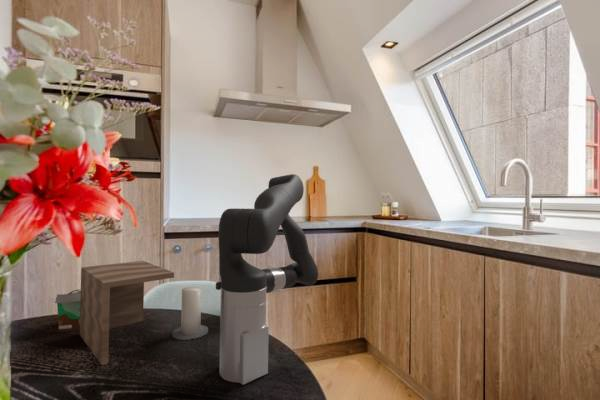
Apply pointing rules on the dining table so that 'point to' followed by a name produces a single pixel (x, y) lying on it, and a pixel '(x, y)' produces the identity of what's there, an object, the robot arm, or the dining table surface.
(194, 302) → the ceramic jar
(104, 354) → the walnut cubby
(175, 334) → the grey coaster
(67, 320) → the food container
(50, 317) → the dining table surface
